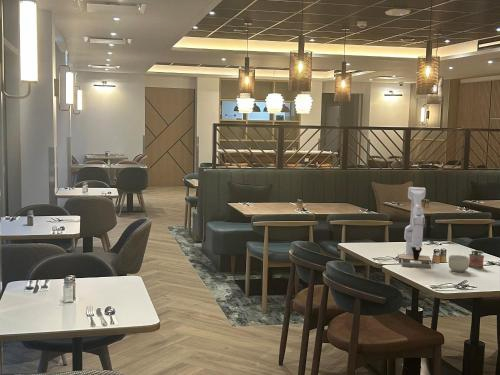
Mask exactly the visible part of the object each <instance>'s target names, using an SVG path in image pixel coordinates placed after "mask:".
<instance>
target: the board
mask: <svg viewBox="0 0 500 375" xmlns="http://www.w3.org/2000/svg"><path fill="white" fill-rule="evenodd" d="M401 259H405V260H414V257H413V255H407V254H405V253H404V254H403V253H398V254H397V260H399V261H398V263H401ZM418 260H419V261H430V263H431V264H432V259H431V258H430V256H429V255H420V254H419V258H418Z"/></svg>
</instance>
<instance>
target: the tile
mask: <svg viewBox="0 0 500 375" xmlns="http://www.w3.org/2000/svg"><path fill="white" fill-rule="evenodd" d="M410 263H415V264H422V263H421V261H412V260H410Z"/></svg>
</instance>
